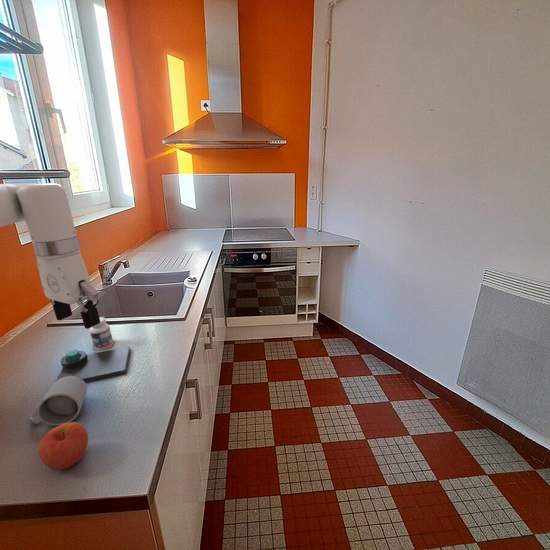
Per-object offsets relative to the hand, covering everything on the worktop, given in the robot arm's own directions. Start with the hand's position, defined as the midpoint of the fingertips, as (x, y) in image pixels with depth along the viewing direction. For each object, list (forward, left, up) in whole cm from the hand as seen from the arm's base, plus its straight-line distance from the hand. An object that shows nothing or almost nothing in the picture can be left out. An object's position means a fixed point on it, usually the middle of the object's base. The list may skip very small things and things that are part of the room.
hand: (78, 321), depth 67 cm
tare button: (-8, +14, -17) cm, 23 cm away
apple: (-1, -19, -20) cm, 27 cm away
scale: (-2, +11, -19) cm, 22 cm away
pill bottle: (-2, +23, -20) cm, 30 cm away
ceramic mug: (-6, -5, -20) cm, 21 cm away
